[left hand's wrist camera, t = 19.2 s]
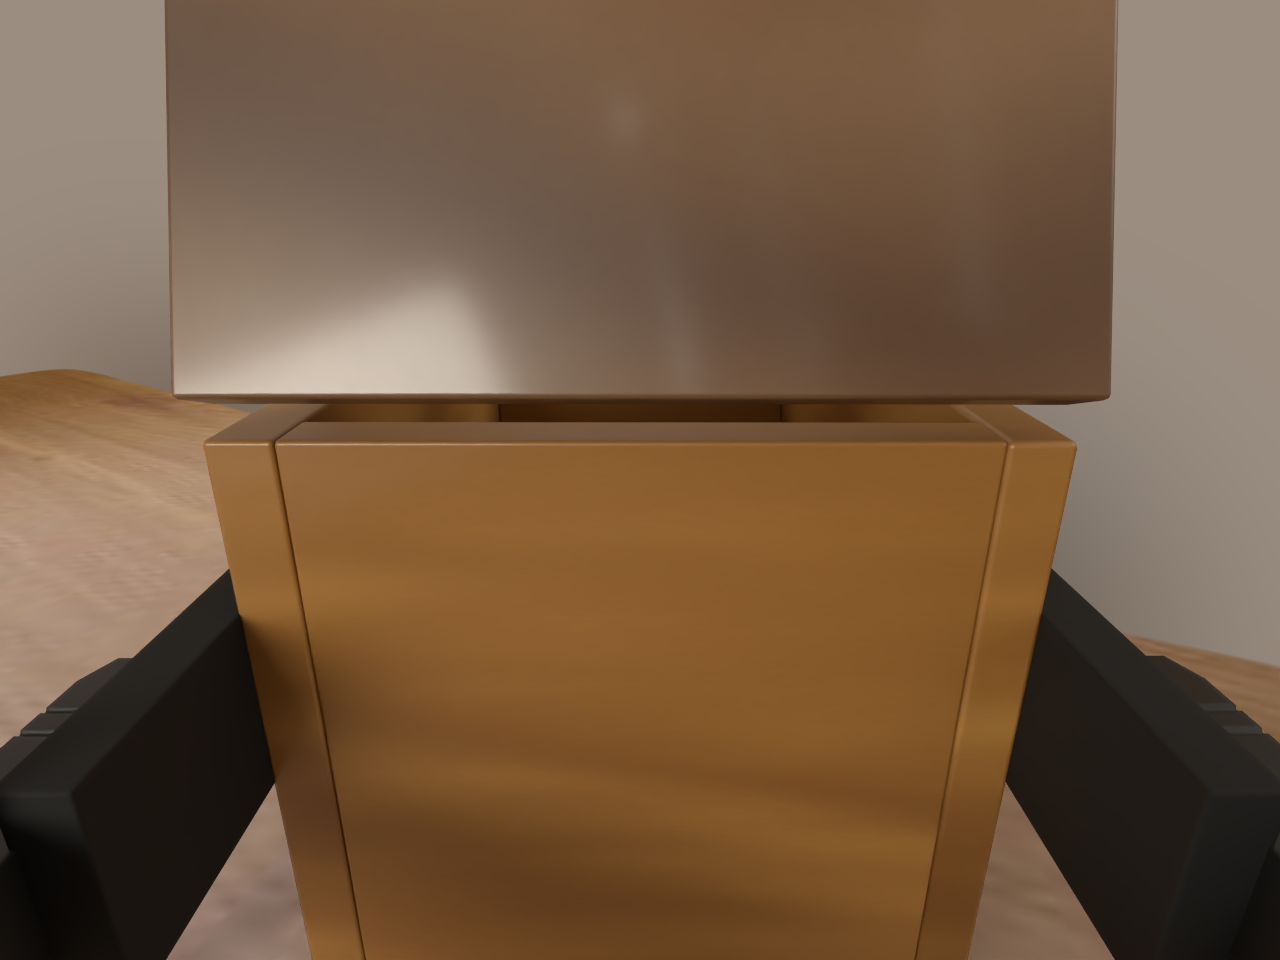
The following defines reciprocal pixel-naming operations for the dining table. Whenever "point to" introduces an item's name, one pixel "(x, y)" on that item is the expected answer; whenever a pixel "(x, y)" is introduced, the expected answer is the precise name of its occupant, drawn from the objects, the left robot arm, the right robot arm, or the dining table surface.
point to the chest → (640, 669)
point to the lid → (641, 201)
